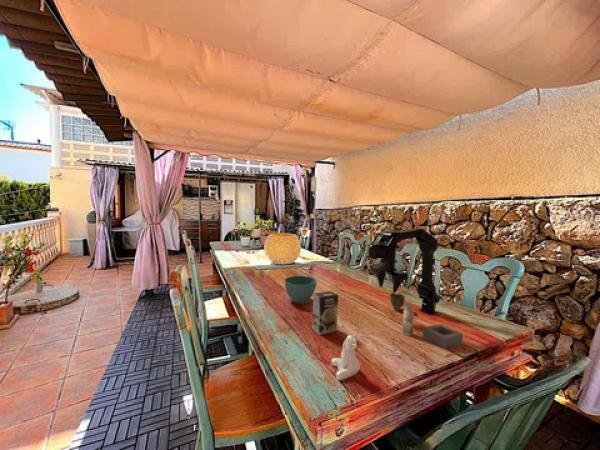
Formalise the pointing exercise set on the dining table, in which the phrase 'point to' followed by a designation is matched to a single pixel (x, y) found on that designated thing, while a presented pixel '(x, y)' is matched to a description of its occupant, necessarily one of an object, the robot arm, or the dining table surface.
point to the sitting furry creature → (347, 360)
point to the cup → (397, 300)
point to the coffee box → (325, 312)
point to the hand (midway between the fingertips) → (387, 289)
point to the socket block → (443, 335)
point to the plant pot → (300, 288)
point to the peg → (408, 319)
